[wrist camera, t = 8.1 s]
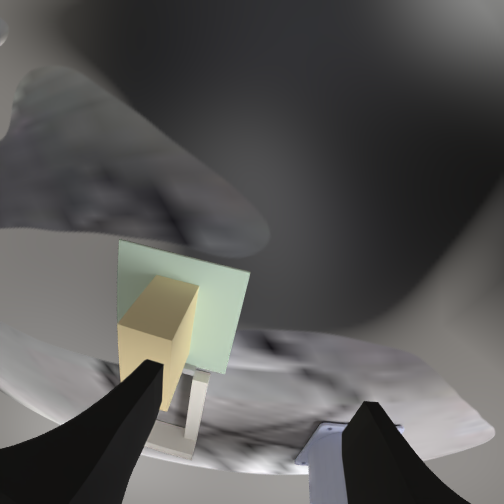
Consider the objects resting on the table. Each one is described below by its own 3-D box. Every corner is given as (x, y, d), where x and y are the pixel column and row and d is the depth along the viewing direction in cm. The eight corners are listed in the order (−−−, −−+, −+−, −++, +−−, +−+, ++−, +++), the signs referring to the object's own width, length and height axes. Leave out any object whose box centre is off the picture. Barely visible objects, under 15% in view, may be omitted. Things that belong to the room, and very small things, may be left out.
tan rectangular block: (199, 285, 20) (172, 341, 14) (189, 353, 22) (167, 411, 16) (156, 274, 20) (117, 323, 14) (152, 342, 22) (122, 396, 16)
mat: (250, 271, 19) (250, 272, 19) (225, 372, 22) (224, 374, 22) (120, 238, 19) (118, 239, 19) (118, 341, 22) (117, 342, 22)
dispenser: (211, 368, 22) (204, 395, 20) (197, 437, 26) (191, 460, 24) (130, 344, 22) (116, 367, 20) (134, 418, 26) (125, 439, 23)
